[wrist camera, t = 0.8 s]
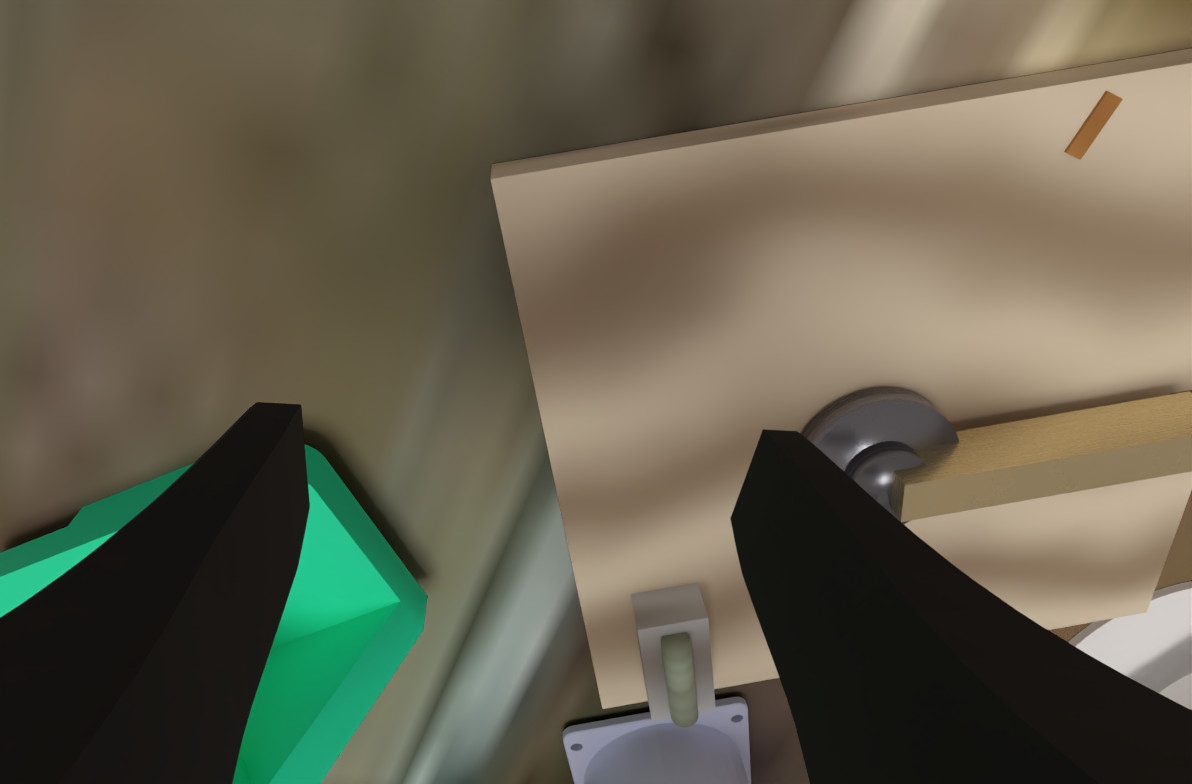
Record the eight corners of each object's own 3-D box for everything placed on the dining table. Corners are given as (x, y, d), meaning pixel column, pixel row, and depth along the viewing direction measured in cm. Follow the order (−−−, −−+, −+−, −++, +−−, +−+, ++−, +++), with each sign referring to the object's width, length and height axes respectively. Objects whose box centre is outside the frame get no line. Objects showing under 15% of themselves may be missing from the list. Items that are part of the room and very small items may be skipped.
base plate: (1119, 584, 31) (1194, 662, 27) (598, 676, 30) (609, 766, 27) (1303, 29, 20) (1464, 45, 16) (491, 164, 19) (488, 207, 16)
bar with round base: (1151, 463, 25) (1210, 510, 23) (790, 526, 25) (816, 579, 23) (1193, 333, 22) (1264, 373, 20) (790, 402, 22) (820, 449, 20)
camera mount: (314, 412, 23) (192, 698, 14) (430, 573, 27) (391, 877, 18) (-12, 542, 24) (-311, 879, 15) (144, 678, 28) (-22, 1010, 19)
